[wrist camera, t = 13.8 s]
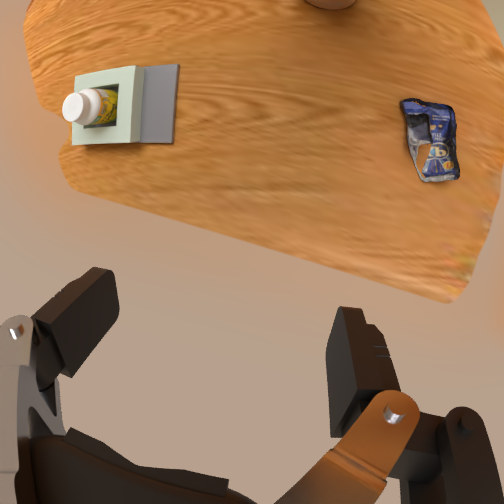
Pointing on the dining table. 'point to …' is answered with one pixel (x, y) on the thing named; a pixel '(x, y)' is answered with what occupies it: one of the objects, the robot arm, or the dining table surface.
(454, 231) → the dining table surface
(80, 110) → the supplement bottle
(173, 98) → the socket board
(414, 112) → the snack package
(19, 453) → the robot arm
